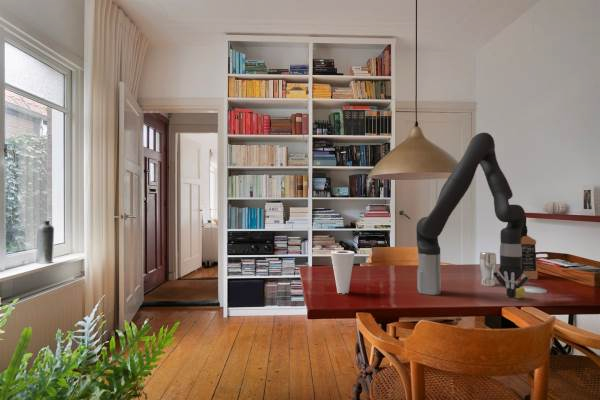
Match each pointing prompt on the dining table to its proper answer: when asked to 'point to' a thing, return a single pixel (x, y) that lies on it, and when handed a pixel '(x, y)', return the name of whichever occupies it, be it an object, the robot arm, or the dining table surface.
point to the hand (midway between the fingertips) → (511, 297)
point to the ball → (520, 292)
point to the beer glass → (487, 268)
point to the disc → (534, 289)
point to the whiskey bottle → (528, 254)
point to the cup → (342, 269)
